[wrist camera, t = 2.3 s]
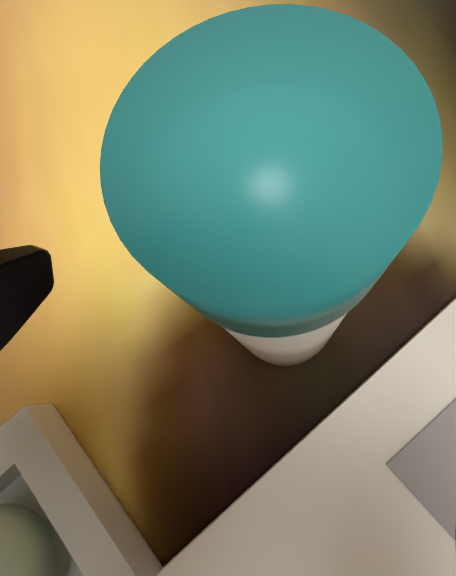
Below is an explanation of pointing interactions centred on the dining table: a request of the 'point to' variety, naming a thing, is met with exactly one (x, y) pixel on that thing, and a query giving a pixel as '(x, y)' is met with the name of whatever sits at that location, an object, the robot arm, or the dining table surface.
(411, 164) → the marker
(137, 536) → the button housing
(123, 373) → the dining table surface
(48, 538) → the button
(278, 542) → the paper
